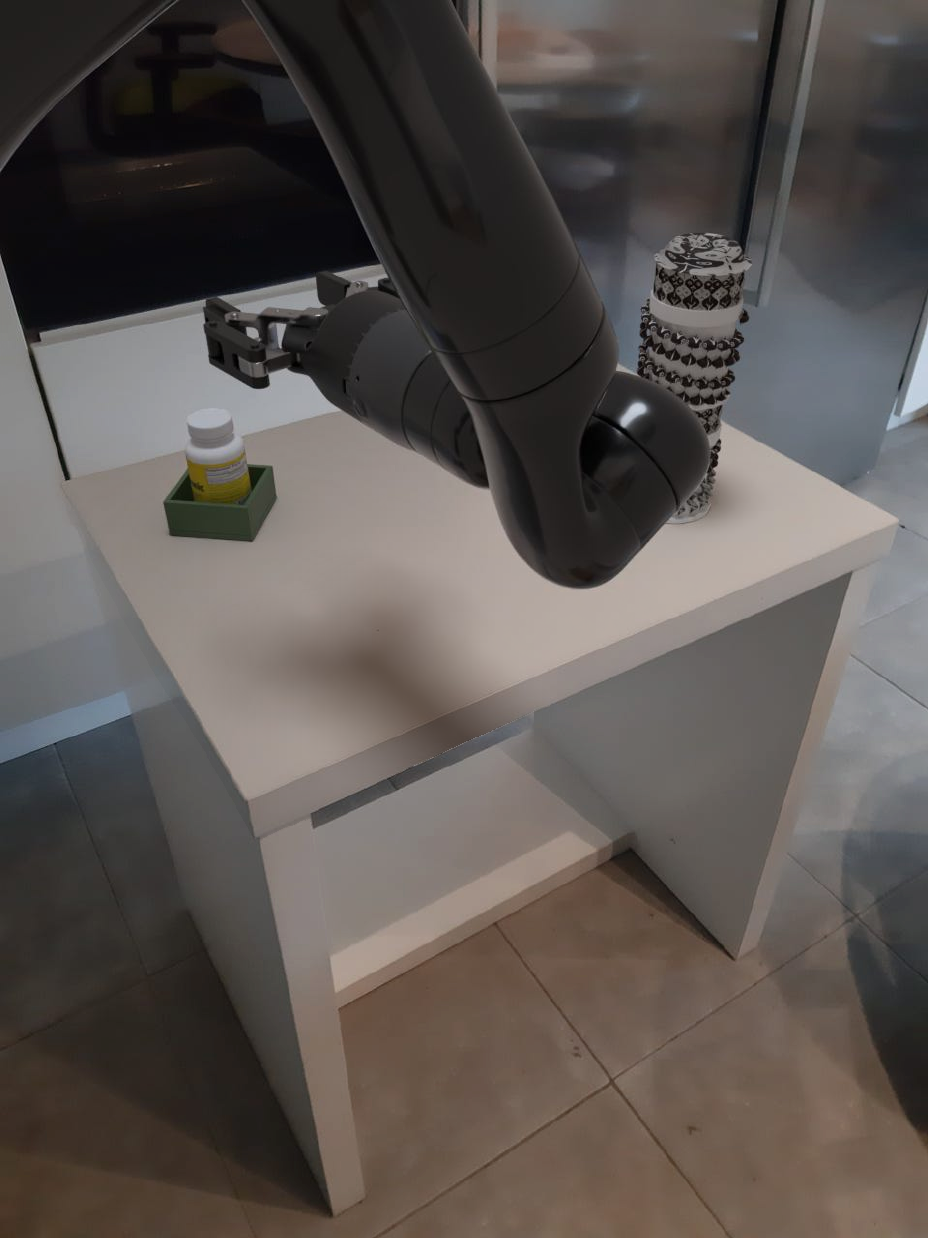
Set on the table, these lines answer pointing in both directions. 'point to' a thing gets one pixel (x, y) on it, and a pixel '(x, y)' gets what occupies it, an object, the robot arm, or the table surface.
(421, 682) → the table surface
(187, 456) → the supplement bottle
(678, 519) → the decorative candle
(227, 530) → the basket
